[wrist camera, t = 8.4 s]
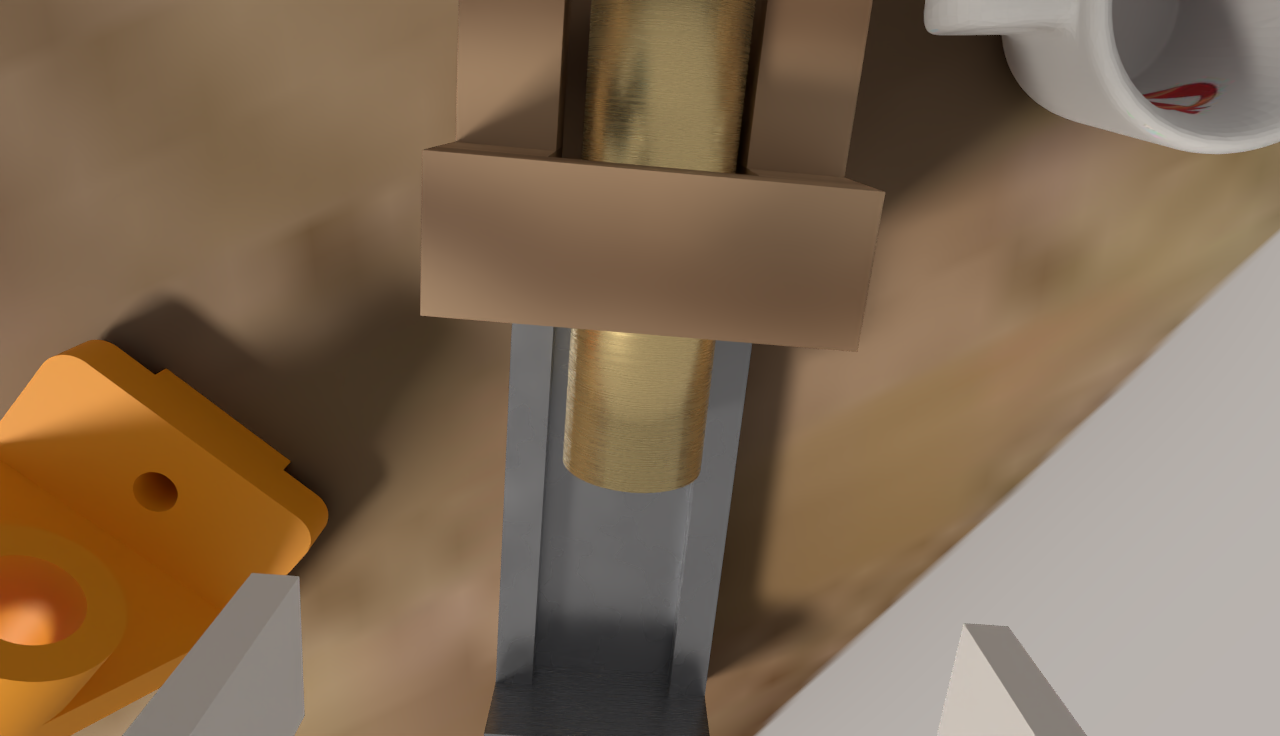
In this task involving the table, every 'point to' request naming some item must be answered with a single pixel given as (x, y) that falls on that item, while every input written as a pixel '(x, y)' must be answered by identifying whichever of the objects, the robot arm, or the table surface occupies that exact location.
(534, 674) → the v block
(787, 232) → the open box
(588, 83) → the axle
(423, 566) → the table surface
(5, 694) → the bracket
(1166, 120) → the cup
